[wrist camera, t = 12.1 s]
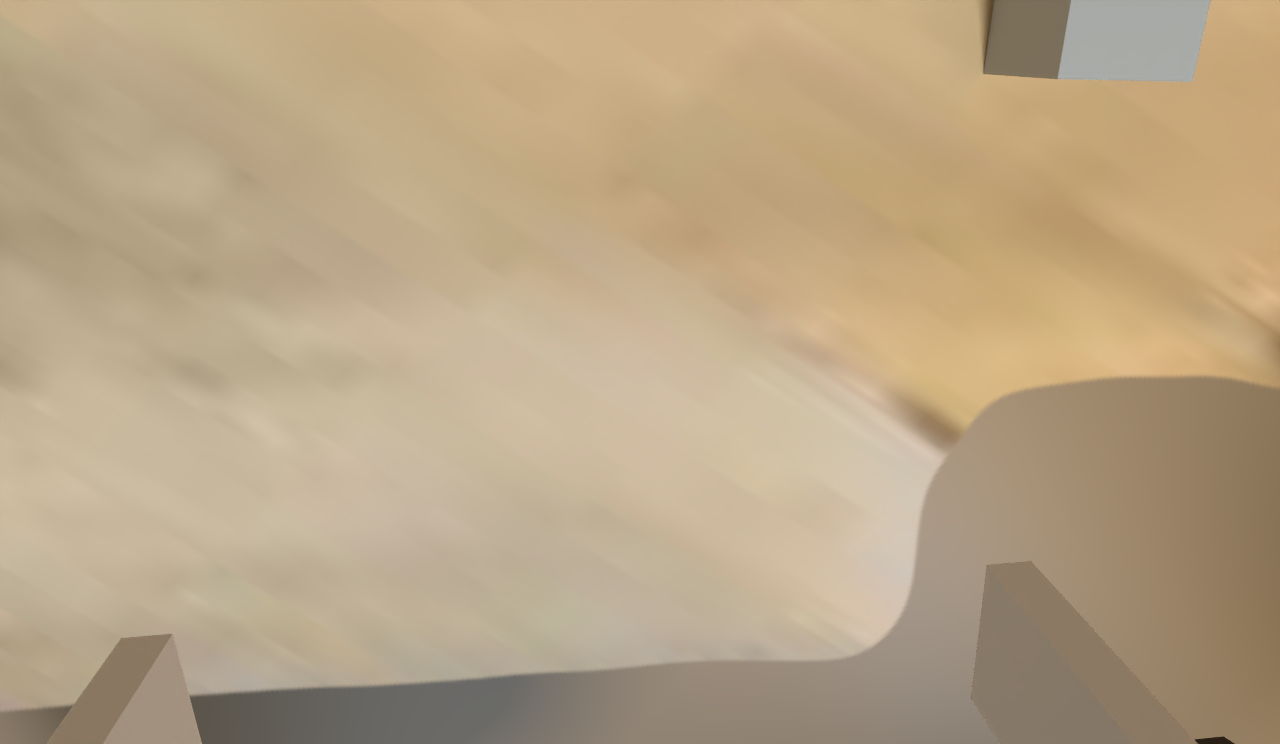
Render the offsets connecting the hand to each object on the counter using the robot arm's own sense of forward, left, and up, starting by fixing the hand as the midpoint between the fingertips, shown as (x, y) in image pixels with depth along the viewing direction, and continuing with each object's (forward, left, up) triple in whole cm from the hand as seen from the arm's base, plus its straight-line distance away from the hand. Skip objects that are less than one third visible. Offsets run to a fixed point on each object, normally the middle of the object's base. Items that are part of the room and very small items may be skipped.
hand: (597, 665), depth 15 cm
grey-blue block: (+19, +11, -26) cm, 34 cm away
